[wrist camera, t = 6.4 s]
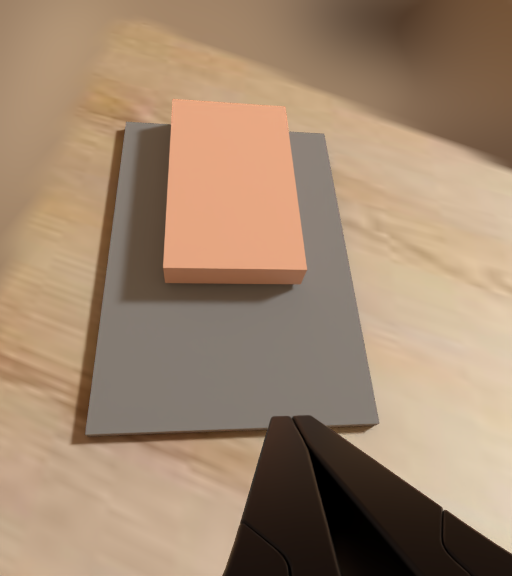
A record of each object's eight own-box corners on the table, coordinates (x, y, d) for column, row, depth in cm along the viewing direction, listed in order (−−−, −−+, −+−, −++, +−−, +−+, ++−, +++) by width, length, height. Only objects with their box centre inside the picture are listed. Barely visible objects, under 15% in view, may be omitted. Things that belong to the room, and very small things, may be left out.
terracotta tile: (307, 269, 21) (285, 106, 26) (162, 267, 20) (172, 98, 25) (299, 287, 22) (280, 129, 28) (165, 285, 21) (174, 123, 27)
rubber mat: (375, 425, 20) (379, 423, 19) (88, 436, 18) (85, 434, 17) (322, 139, 29) (324, 133, 28) (127, 128, 27) (126, 121, 26)
